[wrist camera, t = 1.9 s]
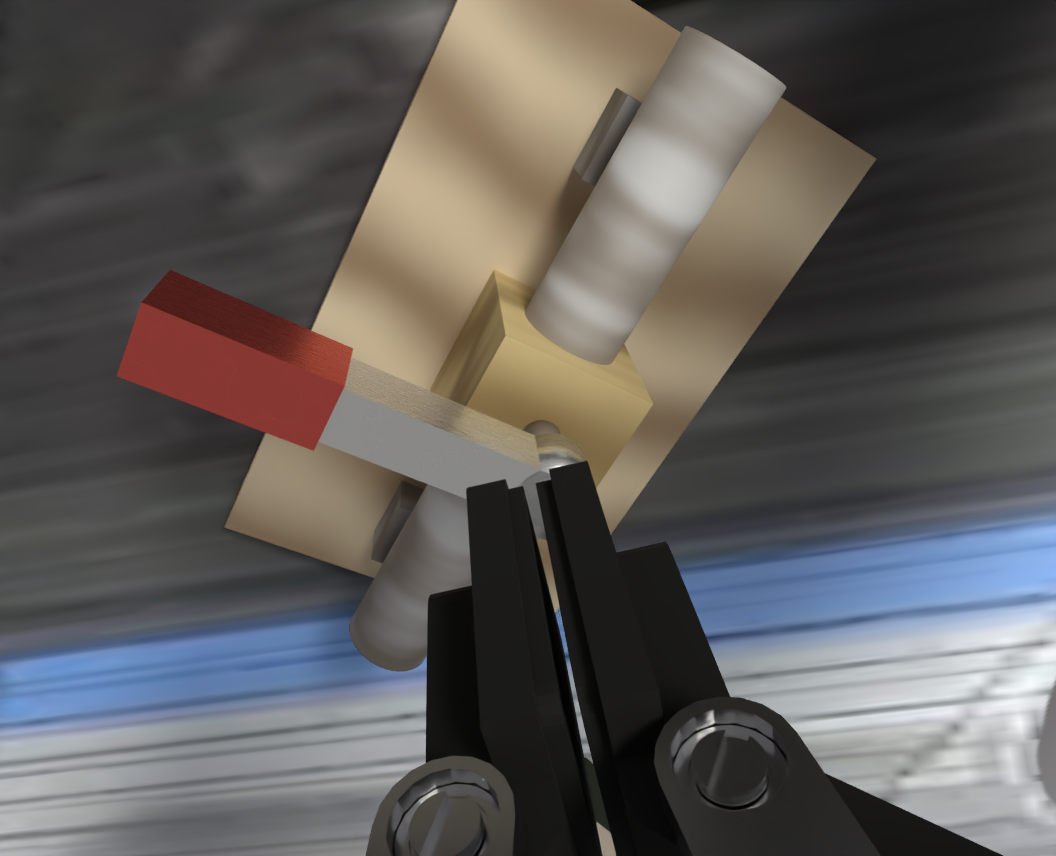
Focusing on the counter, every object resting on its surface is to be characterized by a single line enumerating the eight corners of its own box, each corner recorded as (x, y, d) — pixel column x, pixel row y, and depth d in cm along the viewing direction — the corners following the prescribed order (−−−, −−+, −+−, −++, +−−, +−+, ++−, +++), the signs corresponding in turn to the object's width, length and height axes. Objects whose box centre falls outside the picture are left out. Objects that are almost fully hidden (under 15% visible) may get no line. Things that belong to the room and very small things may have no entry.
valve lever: (172, 263, 21) (143, 295, 19) (601, 448, 26) (615, 490, 24) (144, 343, 23) (114, 382, 20) (561, 509, 27) (571, 554, 25)
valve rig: (493, -84, 26) (517, -106, 18) (858, 150, 31) (1006, 216, 23) (232, 507, 37) (172, 663, 29) (537, 613, 42) (561, 772, 34)
